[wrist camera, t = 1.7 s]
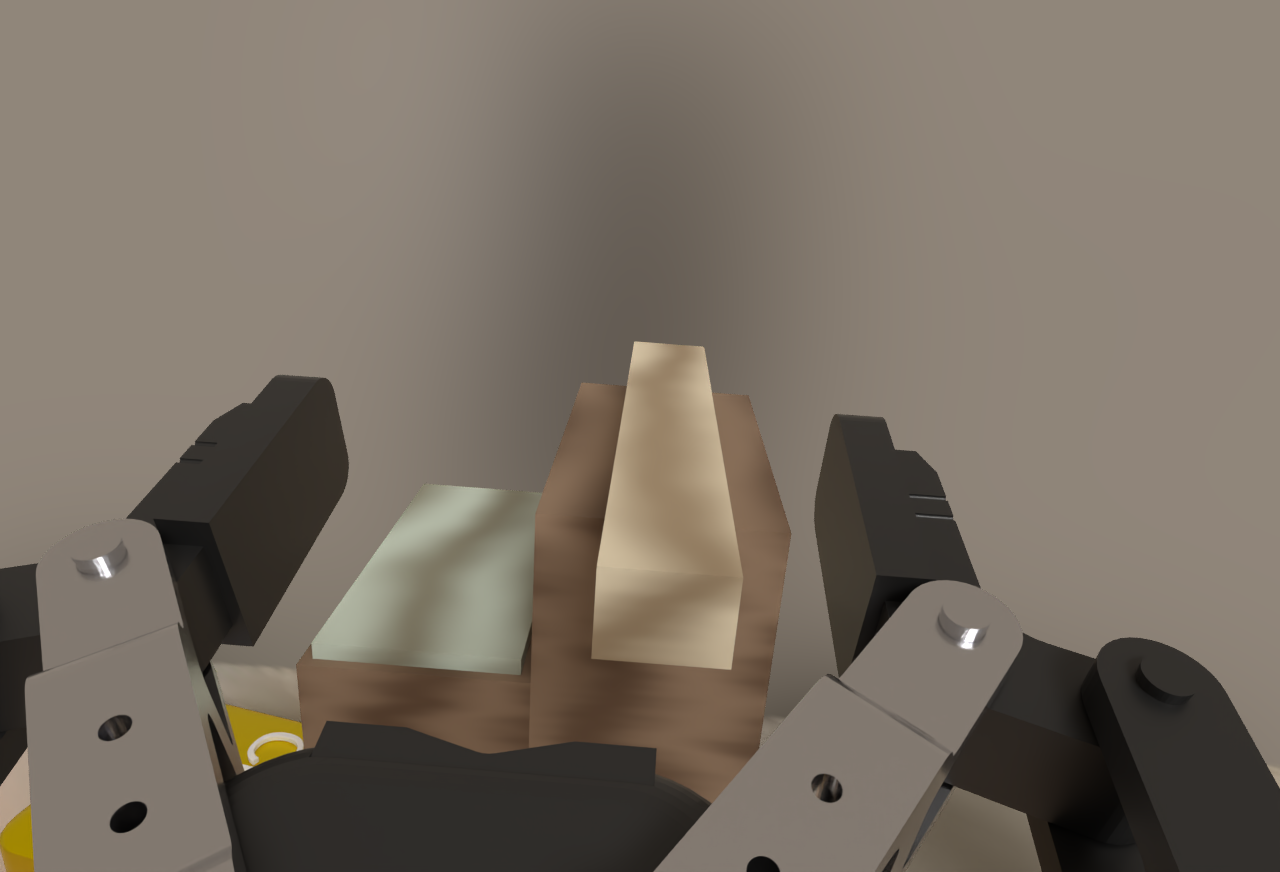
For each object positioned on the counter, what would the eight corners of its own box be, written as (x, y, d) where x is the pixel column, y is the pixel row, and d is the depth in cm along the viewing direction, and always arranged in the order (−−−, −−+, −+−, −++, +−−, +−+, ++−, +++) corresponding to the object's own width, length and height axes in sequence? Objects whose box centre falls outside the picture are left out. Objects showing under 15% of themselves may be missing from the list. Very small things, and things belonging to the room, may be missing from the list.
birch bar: (698, 396, 47) (703, 346, 46) (731, 669, 23) (743, 577, 22) (630, 391, 47) (634, 341, 46) (591, 659, 23) (596, 566, 22)
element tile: (178, 733, 64) (170, 683, 62) (350, 777, 61) (346, 725, 59) (-6, 894, 50) (-23, 835, 48) (204, 961, 47) (194, 900, 45)
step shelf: (697, 810, 59) (748, 395, 48) (709, 1076, 43) (791, 533, 31) (426, 788, 60) (415, 369, 48) (331, 1045, 43) (280, 493, 32)
